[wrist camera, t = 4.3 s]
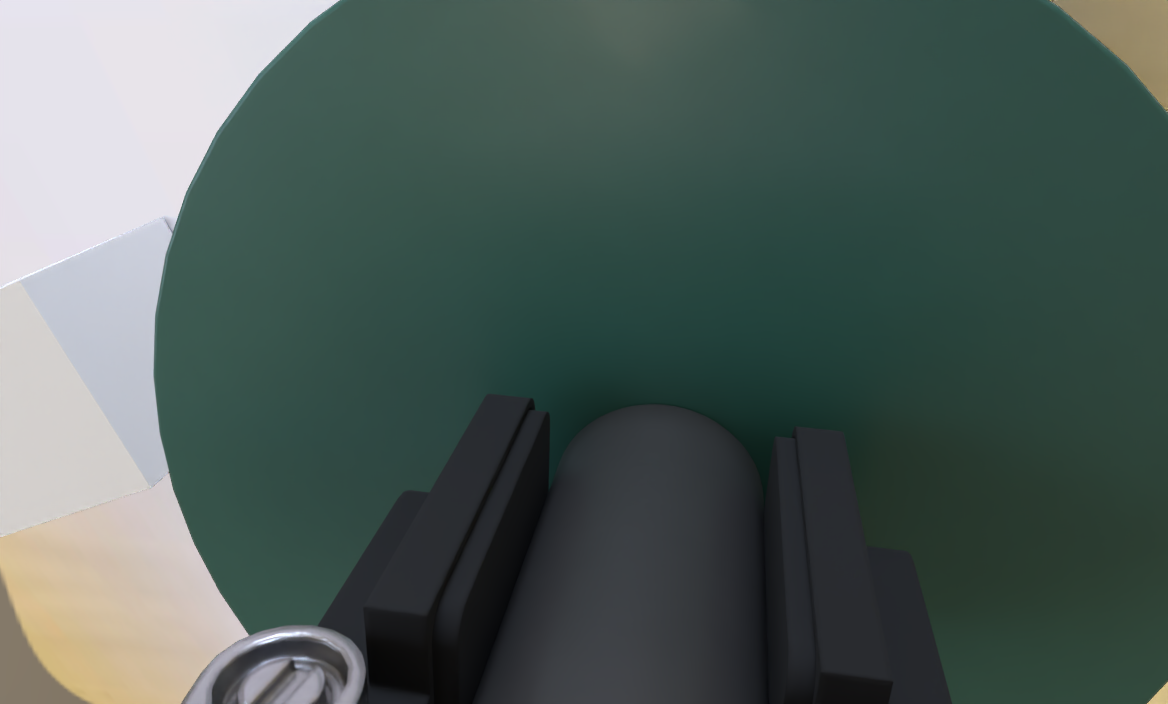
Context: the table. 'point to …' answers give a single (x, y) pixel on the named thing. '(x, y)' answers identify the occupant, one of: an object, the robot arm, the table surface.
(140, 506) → the table surface
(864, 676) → the robot arm
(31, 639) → the table surface
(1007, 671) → the lid
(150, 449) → the white cube
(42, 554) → the table surface
